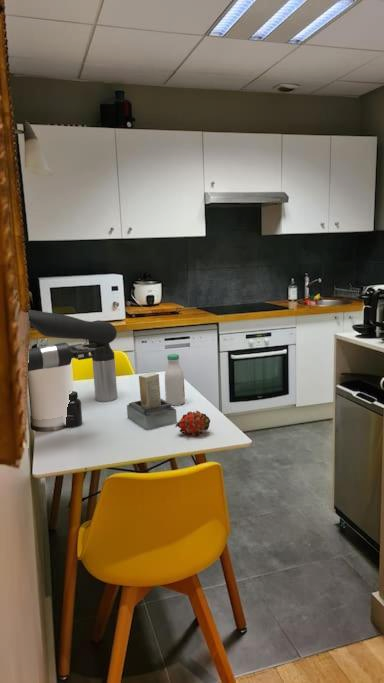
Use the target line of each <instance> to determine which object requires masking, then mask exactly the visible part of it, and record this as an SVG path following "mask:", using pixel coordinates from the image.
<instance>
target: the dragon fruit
mask: <svg viewBox="0 0 384 683" xmlns="http://www.w3.org/2000/svg"><path fill="white" fill-rule="evenodd" d="M210 423H211V419H210V417H209V416H207V414H206V413H201V412H200V411H198V410H195V411H193V412H192V411H188V412H187V414H183V415H182V417H181V418H180V420H179V421H178V422H177V423H175V424H176V425H175V428H177V427H178V428H179V432H180V433H182V434H187V435H191V434H192V436H193V437H195V436H196V435H201V434H202V433H203V431H204V432H205V431H208V430H209V428H210Z"/></svg>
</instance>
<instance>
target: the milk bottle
mask: <svg viewBox="0 0 384 683" xmlns="http://www.w3.org/2000/svg"><path fill="white" fill-rule="evenodd" d="M164 391H165V401H166V402H168V403H170V404H171V407H174V406H181V405H184V404H185V402H186V398H185V397H186V396H185V395H186V394H185V393H186V392H185V376H184V372H183V370H182V367H181V365H180V355H179V354H178V353H177V354H176V353H171V354H167V366H166V369H165V372H164Z"/></svg>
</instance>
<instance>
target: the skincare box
mask: <svg viewBox="0 0 384 683" xmlns="http://www.w3.org/2000/svg"><path fill="white" fill-rule="evenodd" d="M138 382H139V395H140V400H141V407H143V408H145V409H147V408H151V407H156V406H160V405H161V399H162V398H161V386H160V374H159V373H156V372H147V373H144V374H141V375H138Z"/></svg>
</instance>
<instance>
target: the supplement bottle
mask: <svg viewBox="0 0 384 683" xmlns="http://www.w3.org/2000/svg"><path fill="white" fill-rule="evenodd" d="M71 391H72V393H71V394H69V400H70V402H69V404H68V407H67V417H66V426H67V427H66V428H76V427H79V426H82V424H83V412H82V409H83V408H82V401H81V399H79V396H78V392H77V391H74V390H71Z"/></svg>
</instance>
